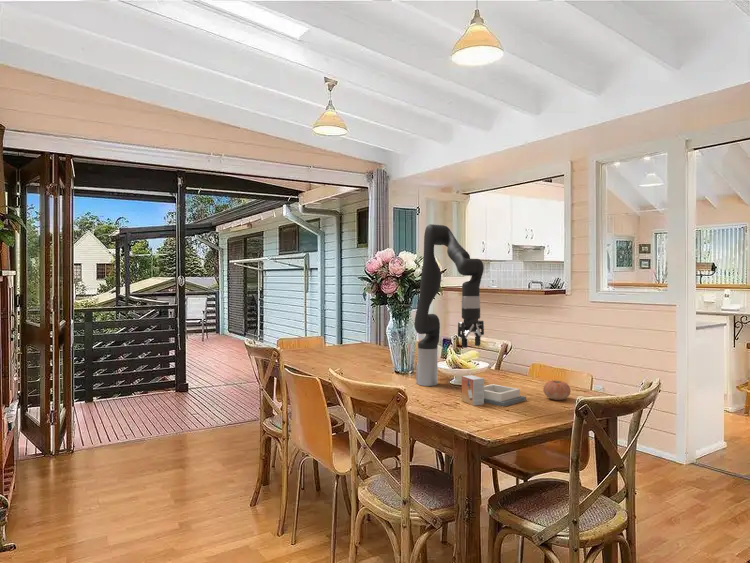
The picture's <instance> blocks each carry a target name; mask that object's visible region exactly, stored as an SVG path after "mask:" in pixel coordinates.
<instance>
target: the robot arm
mask: <svg viewBox="0 0 750 563" xmlns="http://www.w3.org/2000/svg"><path fill="white" fill-rule="evenodd" d="M435 246H445V247H447V250H446V251H447V252H446V253H447V256H448V257H449V259H450V260H451V261H452V262H453V263H454V264H455V267H456V270H457V272H458V274H460V275H461V276H466V277H469V276H470V280H467V281H464V282H463V283H462V286H461V289H462V290H461V292H462V293H461V295H462V296H461V319H463V321H458V323H457V337H458V338H460V339H461V347H462V349H464V348H465V349H467V348H468V336H469V335H471V333H472V334H473V335H474V346H476V347H479V346H481V337H482V336H484V335H485V326H484V324H485V323H484V320H480V319H481V299H480V298H481V297H480V285H481V282H482V278H483V273H484V270H485V269H484V262H483V261H482V260H481V259H479V258H471V256H470V253H469V252H468V251H467V250H466V249H464V247H463V246H462V245H461V244H460V243H459V242H458V240H457V239H456V237H455V236H454V233H453V232H452V230H451V229H450V228H449V227H448V226H446V225H442V224H428V225H427V226H426V227H425V230H424V236H423V257H422V258H423V260H422V270H421V276H420V289H419V295H418V301H417V308H416V313H415V317H414V329H415V332H416V333H417V334H420V335H425V336H424V337H423V338H422V339H420V340H418V343H417V363H416V364H415V365H416V367H415V369H416V370H415V372H416V377H415V378H416V379H415V381H416V382H415V383H416V384H417V385H419V386H424V387H434V386H437V385H438V360H439V359H438V357H439V356H438V346H439V343H440V329H441V322H440V319H439V317H438V315H437V314H435V313H429V311H430V306H431V304H432V302H433V301H434V299H435V297H436V296H437V295H438V293H439V291H440V289H441V282H442V271H441V269H440V266H439V264H438V262H437V260H436V257H435V256H436V255H435Z"/></svg>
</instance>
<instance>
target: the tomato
mask: <svg viewBox="0 0 750 563" xmlns="http://www.w3.org/2000/svg"><path fill="white" fill-rule="evenodd" d="M542 390H543V393H544V395H545V396H546V397H547V398H549V399H550V400H553V401H564V400H566V399H568V398H569V396H570V395H571V387H570V385H569V384H568V383H567V382H564V381H562V380H548V381H547V382H545V384H544V386H543V389H542Z"/></svg>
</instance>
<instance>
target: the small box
mask: <svg viewBox="0 0 750 563" xmlns="http://www.w3.org/2000/svg"><path fill="white" fill-rule="evenodd" d="M484 386H485V378H483V377H479V376H476V375H471V374H470V375H462V376H461V402H464V403H465V404H468V405H470V406H481V405H482V406H483V405H484V404H485V403H484Z"/></svg>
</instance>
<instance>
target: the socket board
mask: <svg viewBox="0 0 750 563" xmlns="http://www.w3.org/2000/svg"><path fill="white" fill-rule="evenodd" d="M525 400H526V401H527V396H525V395H523V396H522V395H521V389H520V388H516V387H511V386H505V385H500V384H497V383H496V384H493V383H492V384H491V383H490V384H487V385H484V404H489V405H494V406H497V405H498V407H502V406H503V408H504V406H505V407H507V406H512V405H515V403H516V404H519V403H522V401H523V402H526V401H525ZM518 402H519V403H518ZM511 404H512V405H511Z"/></svg>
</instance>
